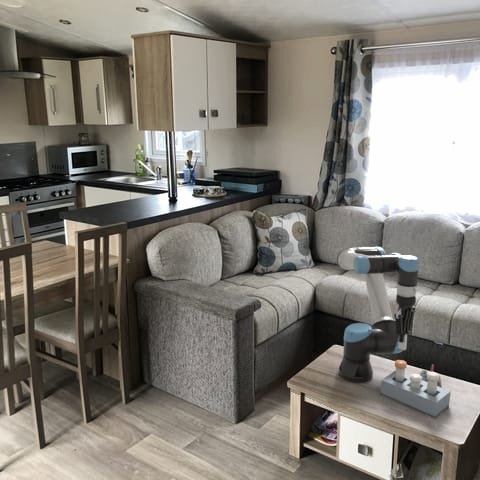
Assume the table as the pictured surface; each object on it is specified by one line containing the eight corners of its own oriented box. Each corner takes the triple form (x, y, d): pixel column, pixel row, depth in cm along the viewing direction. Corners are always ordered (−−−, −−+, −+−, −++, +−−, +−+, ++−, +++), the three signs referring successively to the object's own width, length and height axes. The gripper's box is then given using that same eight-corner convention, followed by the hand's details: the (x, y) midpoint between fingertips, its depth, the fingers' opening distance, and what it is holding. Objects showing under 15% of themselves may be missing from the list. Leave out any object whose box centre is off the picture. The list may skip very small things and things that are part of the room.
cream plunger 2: (423, 394, 201) (424, 374, 199) (428, 390, 204) (430, 370, 202) (434, 399, 197) (436, 378, 195) (439, 394, 201) (441, 374, 198)
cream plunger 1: (406, 395, 207) (407, 376, 204) (411, 391, 210) (413, 372, 208) (416, 400, 203) (418, 380, 201) (422, 395, 206) (424, 376, 204)
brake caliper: (449, 392, 209) (432, 368, 209) (425, 403, 213) (409, 380, 213) (446, 379, 219) (430, 356, 219) (424, 389, 223) (408, 367, 223)
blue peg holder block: (380, 394, 211) (381, 379, 210) (395, 384, 219) (396, 370, 218) (435, 418, 194) (436, 402, 193) (448, 406, 202) (450, 391, 201)
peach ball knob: (391, 381, 211) (392, 362, 209) (397, 377, 214) (398, 358, 212) (401, 385, 207) (403, 366, 205) (407, 381, 210) (408, 362, 208)
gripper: (406, 300, 194) (402, 356, 200) (423, 292, 203) (418, 346, 208) (389, 295, 199) (385, 350, 205) (405, 288, 208) (401, 341, 214)
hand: (402, 348), depth 207 cm, fingers closed
